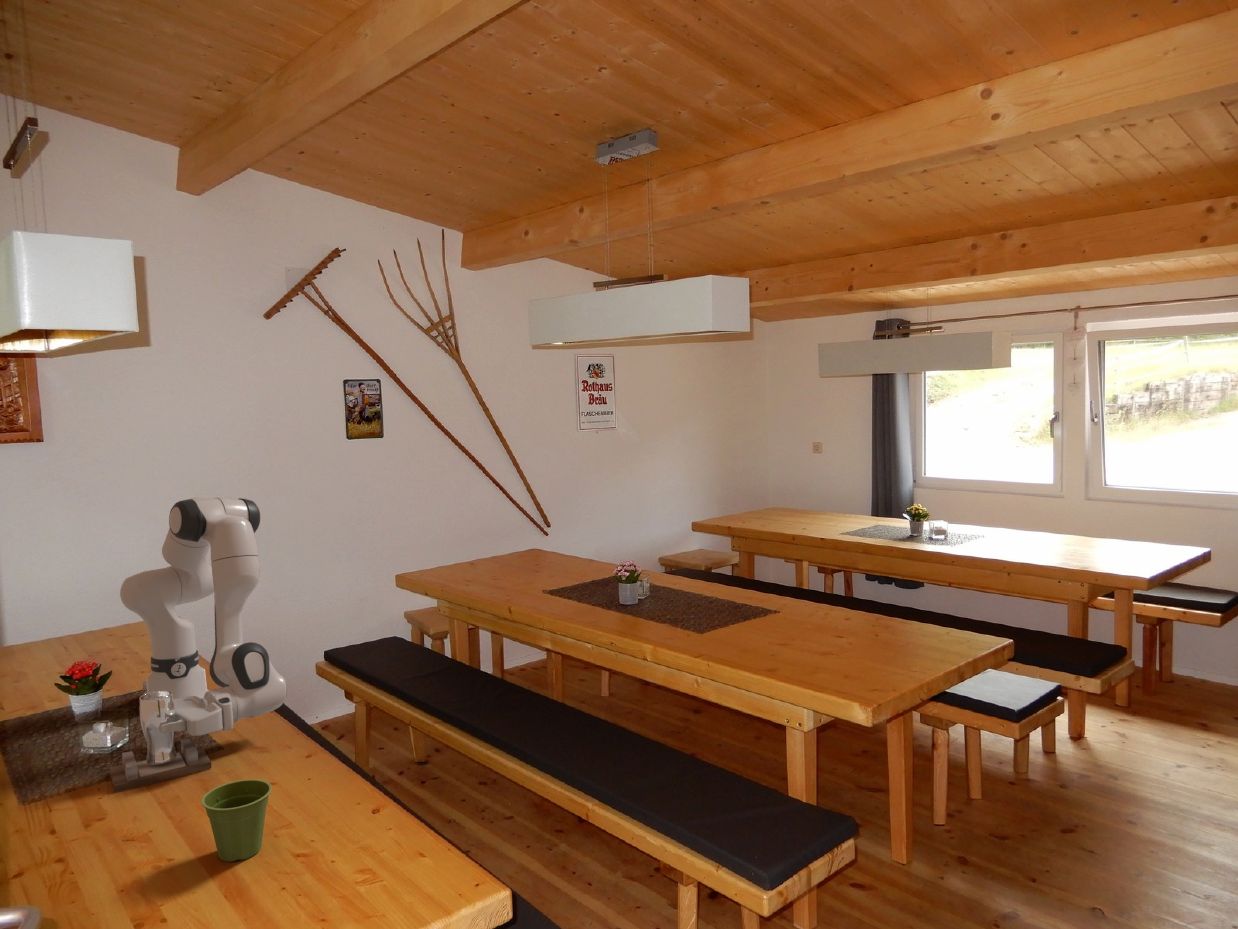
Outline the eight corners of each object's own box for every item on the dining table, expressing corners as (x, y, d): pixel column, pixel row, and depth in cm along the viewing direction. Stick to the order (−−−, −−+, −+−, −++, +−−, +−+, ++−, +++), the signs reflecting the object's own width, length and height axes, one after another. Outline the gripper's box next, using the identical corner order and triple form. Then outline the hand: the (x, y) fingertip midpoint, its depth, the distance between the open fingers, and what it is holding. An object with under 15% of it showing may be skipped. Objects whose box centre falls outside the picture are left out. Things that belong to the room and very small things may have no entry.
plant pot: (191, 870, 147) (187, 809, 146) (226, 836, 158) (222, 779, 158) (256, 870, 146) (252, 808, 145) (286, 836, 158) (283, 778, 157)
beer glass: (163, 766, 184) (157, 701, 183) (136, 765, 186) (130, 700, 185) (185, 753, 191) (180, 690, 190) (159, 752, 193) (154, 689, 191)
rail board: (109, 774, 188) (108, 754, 187) (201, 752, 199) (200, 733, 199) (115, 792, 178) (113, 772, 178) (211, 768, 189) (210, 749, 189)
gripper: (200, 686, 204) (138, 701, 194) (233, 704, 190) (168, 722, 180) (201, 711, 205) (140, 727, 195) (235, 731, 190) (170, 750, 180)
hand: (154, 725), depth 187 cm, fingers closed on beer glass, 6 cm apart
